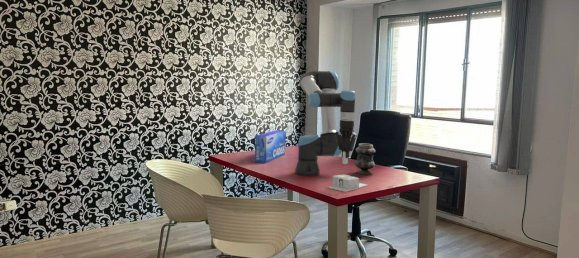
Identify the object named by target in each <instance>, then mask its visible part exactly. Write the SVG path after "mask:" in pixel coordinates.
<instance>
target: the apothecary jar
mask: <svg viewBox="0 0 579 258" xmlns="http://www.w3.org/2000/svg"><path fill="white" fill-rule="evenodd" d="M355 152H356V153H357V157H356V160H355V162H354V165H355V166H356V168H358V169H359V170H357V171H356V174H357V175H364V176H365V175H366V176H369V175H373V172H372V171H371V169H374V168H375V166H376V164H375V162H374V154H375V153H376V149H375V148H374V145H373V144H371V143H366V142H365V143H364V142H363V143H358V147H356V149H355Z"/></svg>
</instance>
